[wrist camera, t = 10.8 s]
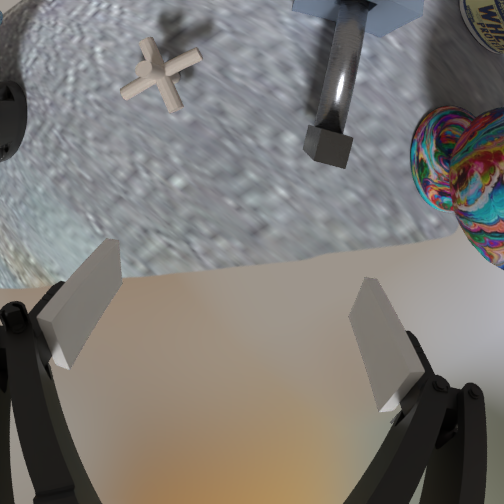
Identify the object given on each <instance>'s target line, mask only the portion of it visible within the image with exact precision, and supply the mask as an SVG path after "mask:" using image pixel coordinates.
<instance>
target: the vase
mask: <svg viewBox="0 0 504 504" xmlns="http://www.w3.org/2000/svg"><path fill="white" fill-rule="evenodd" d="M411 170H412V176H413V179H414V183H415V185H416V188H417V190H418V192H419V193H420V195H421V197H422V198H423V199H424V200H425V201H426V202H427V203H428V204H429V205H430V206H431V207H433V208H434V209H436V210H439V211H441V212H447V213H453V212H455V215H456V218H457V220H458V222H459V224H460V226H461V228H462V229H463V231H464V233H465V235H466V236H467V238H468V240H469V241H470V242H471V243H472V245H473V246H474V247H475V248H476V249H477V250H478V251H479V252H480V253H481V255H482V256H483V257H484V258H485V259H486V260H488V261H489V262H490V263H492V264H494V265H496V266H498V267H499V268H501V269H503V270H504V107H501V108H496V109H493V110H490V111H487V112H485V113H482V114H481V115H479V116H477V117H474V116H473V115H472V114H471V113H470V112H468V111H467V110H465V109H463V108H460V107H456V106H444V107H440V108H438V109H436V110H434V111H432V112H431V113H430V114H428V115H427V116H426V117H425V119H424V120H423V121H422V122H421V124H420V126H419V127H418V129H417V131H416V134H415V136H414V139H413V143H412V149H411Z"/></svg>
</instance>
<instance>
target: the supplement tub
mask: <svg viewBox="0 0 504 504" xmlns="http://www.w3.org/2000/svg"><path fill="white" fill-rule="evenodd" d="M460 11H461V15H462V17H463V20H464V22H465V24H466V26H467V27H468V29H469V30H470V32H471V33H472V35H473V36H474V37H475V38H476V40H477V41H478V42H479V43H480V44H481V45H483V46H484V47H485V48H486V49H488V50H490V51H491V52H494V53H497V54H504V0H460Z"/></svg>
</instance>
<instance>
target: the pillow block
mask: <svg viewBox="0 0 504 504" xmlns="http://www.w3.org/2000/svg"><path fill="white" fill-rule="evenodd" d="M340 1H341V0H294V3H293V8H292V11H296V12H301V13H305V14H309V15H313V16H317V17H321V18H324V19H328V20H331V21H335V22H337V17H338V11H339V6H340ZM368 1H370V3H369V10H368V16H367V22H366V28H365V32H368V33H370V34H373V35H375V36H378V37H382V36H384V35H386V34H388V33H390V32H391V31H393V30H395V29H397V28H399V27H401V26H403V25H405V24H407V23H409V22H411V21H413V20H415V19H417V18H419V17H421V16H423V5H424V0H368Z"/></svg>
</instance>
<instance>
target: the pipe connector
mask: <svg viewBox="0 0 504 504" xmlns="http://www.w3.org/2000/svg"><path fill="white" fill-rule="evenodd" d="M139 46H140V48H141V50H142V52H143V55H144V57H145V59H146V61H145V60H144V61H141V62H139V63H138V64H137V66H136V68H135V72H136V75H137V76H139V78H137V79H135V80H134V81H132V82H130V83H129V84H127V85H126V86H124V87H123V88H121V89H120V93H121V95H122V97H123V98H124V99H125V100H129V99H130V98H132V97H134V96H135V95H137V94H139V93H140V92H142V91H144V90H145V89H147V88H149V87H151V86H152V85H154V84H157V86H158V89H159V91H160V93H161V95H162V98H163V100H164V102H165V104H166V106H167V109H168V111H169V113H173V112H176V111H178V110H180V109H182V108H183V107H184V106H183V103H182V101H181V99H180V97H179V94H178V92H177V90H176V88H175V86H174V84H176V83H178V82H179V80H180V74H179V73H178V72H179V71H181V70H183V69H185V68H187V67H189V66H191V65H193V64H195V63H197V62H200V61H202V60H203V57H202V55H201V53H200V51H199V49H198V48H197V47H196V48H194V49H191V50H189V51H187V52H185V53H183V54H181V55H179V56H177V57H175V58H173V59H171V60H169V61H167V62H165V63H164V61H163V59H162V57H161V55H160V52H159V50H158V48H157V46H156V43H155V41H154V39H153V37H148V38H145V39H143V40H142V41H140V42H139Z"/></svg>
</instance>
